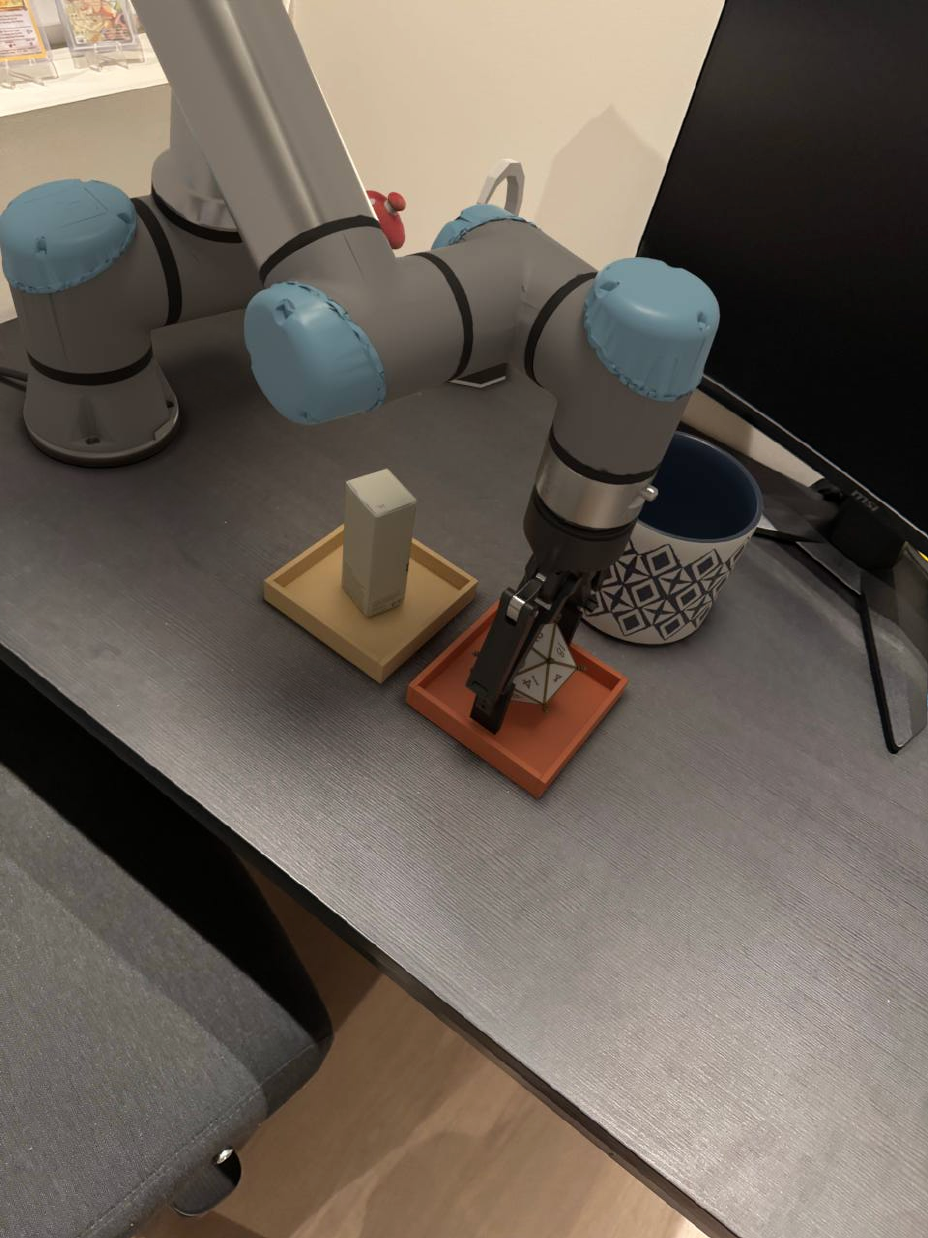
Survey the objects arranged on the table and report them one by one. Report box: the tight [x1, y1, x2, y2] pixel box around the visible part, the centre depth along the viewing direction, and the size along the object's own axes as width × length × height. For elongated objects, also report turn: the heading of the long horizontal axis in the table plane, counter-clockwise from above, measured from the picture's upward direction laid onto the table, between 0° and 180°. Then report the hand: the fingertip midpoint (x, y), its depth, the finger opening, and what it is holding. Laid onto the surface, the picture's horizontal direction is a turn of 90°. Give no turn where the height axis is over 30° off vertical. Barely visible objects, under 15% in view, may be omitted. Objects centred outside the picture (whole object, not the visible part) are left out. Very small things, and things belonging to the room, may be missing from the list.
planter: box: [580, 430, 764, 645], centre depth 82 cm, size 16×16×14 cm
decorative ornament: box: [365, 189, 407, 251], centre depth 111 cm, size 9×6×15 cm
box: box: [342, 468, 418, 618], centre depth 75 cm, size 5×4×13 cm
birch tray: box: [263, 523, 479, 684], centre depth 80 cm, size 14×14×3 cm
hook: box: [449, 158, 526, 389], centre depth 100 cm, size 11×11×25 cm
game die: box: [471, 614, 588, 715], centre depth 71 cm, size 9×8×10 cm
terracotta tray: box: [405, 598, 630, 800], centre depth 75 cm, size 14×14×3 cm
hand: (518, 686), depth 74 cm, fingers closed on game die, 10 cm apart
